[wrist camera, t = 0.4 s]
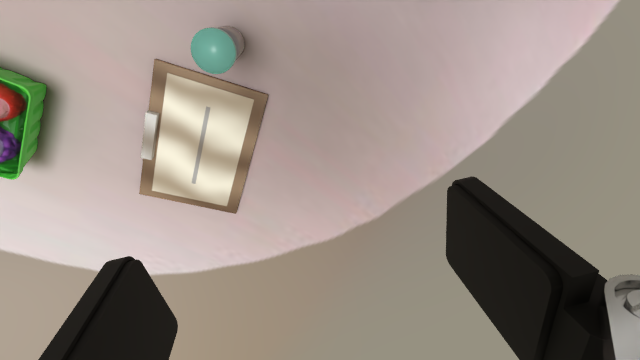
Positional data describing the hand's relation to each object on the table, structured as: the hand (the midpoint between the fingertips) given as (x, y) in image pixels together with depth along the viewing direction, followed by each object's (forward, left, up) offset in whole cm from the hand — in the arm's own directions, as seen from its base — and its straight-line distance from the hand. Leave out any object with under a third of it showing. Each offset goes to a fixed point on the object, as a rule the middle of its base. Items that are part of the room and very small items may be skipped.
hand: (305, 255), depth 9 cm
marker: (-2, -6, -32) cm, 33 cm away
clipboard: (+12, -7, -32) cm, 35 cm away
